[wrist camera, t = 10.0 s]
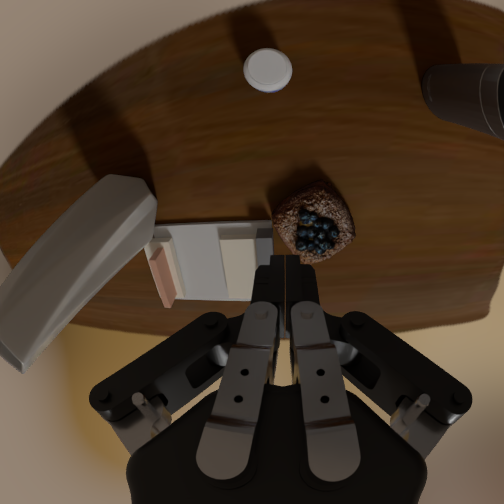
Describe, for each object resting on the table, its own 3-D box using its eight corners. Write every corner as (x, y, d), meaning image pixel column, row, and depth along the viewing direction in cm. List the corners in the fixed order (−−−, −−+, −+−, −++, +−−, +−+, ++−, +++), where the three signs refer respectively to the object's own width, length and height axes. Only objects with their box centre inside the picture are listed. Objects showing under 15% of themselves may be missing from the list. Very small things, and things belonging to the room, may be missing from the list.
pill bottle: (241, 78, 31) (228, 72, 23) (264, 49, 29) (260, 34, 21) (273, 100, 33) (272, 100, 24) (297, 71, 30) (304, 63, 22)
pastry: (322, 169, 38) (329, 182, 33) (361, 229, 42) (370, 248, 37) (262, 209, 42) (260, 227, 37) (305, 262, 46) (308, 284, 41)
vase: (147, 244, 47) (48, 401, 19) (101, 204, 44) (-27, 334, 16) (185, 198, 42) (60, 380, 14) (132, 153, 38) (-43, 277, 10)
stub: (171, 237, 44) (160, 254, 40) (186, 292, 51) (178, 312, 46) (146, 238, 45) (133, 255, 41) (163, 291, 51) (153, 310, 47)
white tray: (272, 219, 42) (271, 232, 39) (275, 298, 51) (275, 313, 47) (153, 224, 45) (144, 236, 41) (174, 296, 53) (168, 309, 50)
